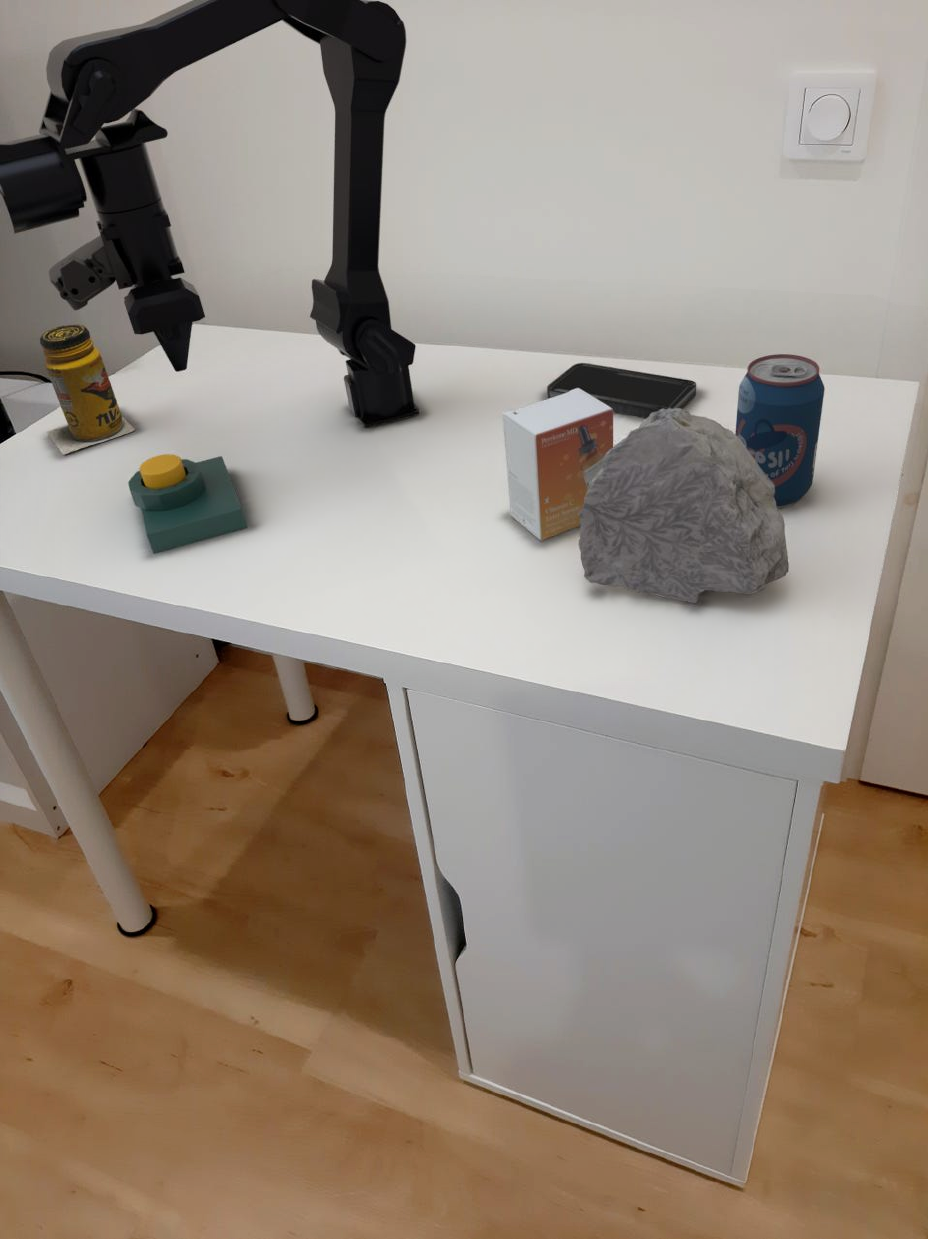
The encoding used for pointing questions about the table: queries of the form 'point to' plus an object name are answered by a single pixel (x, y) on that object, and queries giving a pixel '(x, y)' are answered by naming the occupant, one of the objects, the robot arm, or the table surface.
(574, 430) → the small box
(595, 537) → the decorative rock
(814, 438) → the soda can
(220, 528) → the teal square base
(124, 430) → the condiment
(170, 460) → the cylinder
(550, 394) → the phone
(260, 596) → the table surface
